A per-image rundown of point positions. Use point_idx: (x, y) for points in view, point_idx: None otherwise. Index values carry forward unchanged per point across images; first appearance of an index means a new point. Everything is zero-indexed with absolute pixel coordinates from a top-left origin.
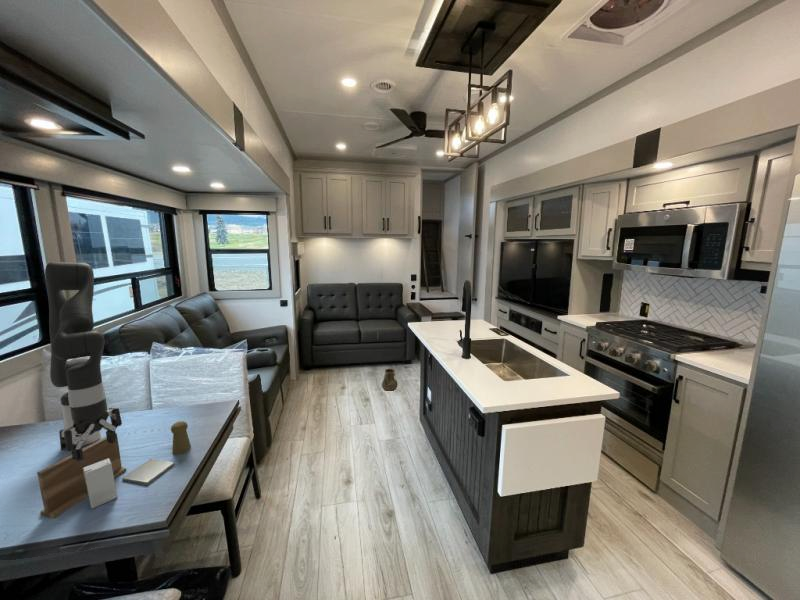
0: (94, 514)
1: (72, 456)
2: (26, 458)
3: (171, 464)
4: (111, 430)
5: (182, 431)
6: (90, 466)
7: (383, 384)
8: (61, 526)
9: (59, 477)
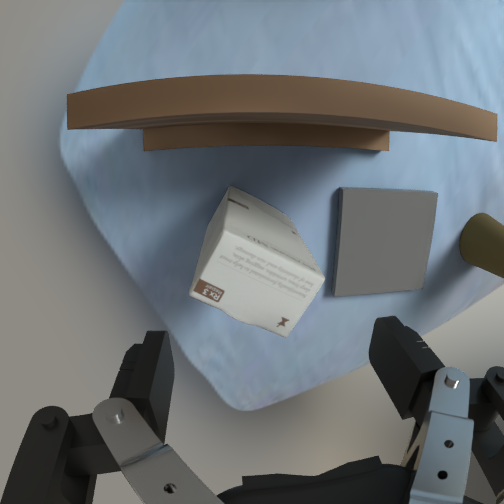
0: (194, 258)
1: (122, 367)
2: None
3: (414, 288)
4: (412, 429)
5: None
6: (240, 264)
7: None
8: (133, 212)
9: (167, 121)
